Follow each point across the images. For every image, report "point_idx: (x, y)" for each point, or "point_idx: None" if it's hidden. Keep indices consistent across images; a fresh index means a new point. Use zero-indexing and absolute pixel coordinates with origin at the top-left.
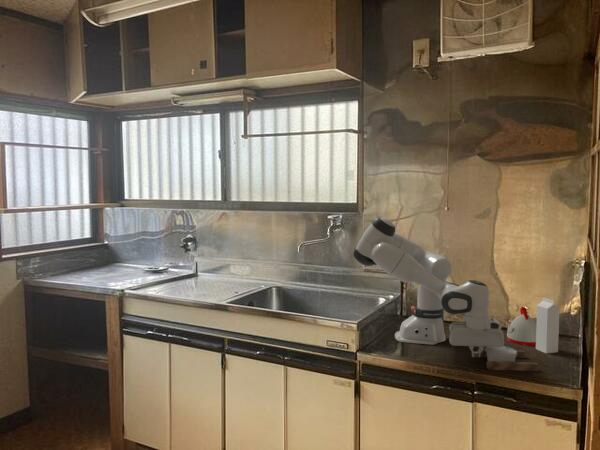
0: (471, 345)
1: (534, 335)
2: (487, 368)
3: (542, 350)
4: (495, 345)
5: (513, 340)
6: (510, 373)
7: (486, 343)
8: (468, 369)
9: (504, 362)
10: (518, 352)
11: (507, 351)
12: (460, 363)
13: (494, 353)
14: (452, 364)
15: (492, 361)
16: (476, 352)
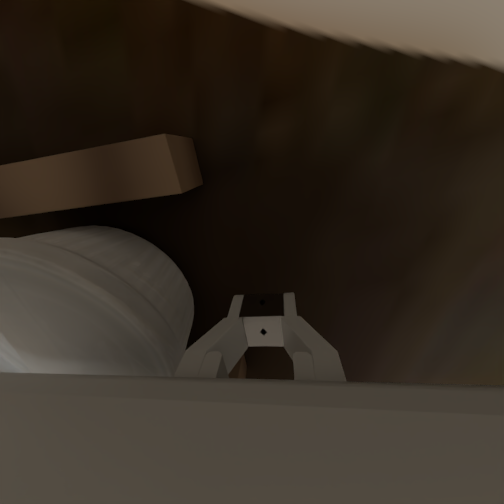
0: (340, 389)
1: None
2: (194, 152)
3: None
4: (14, 387)
5: None
6: (22, 85)
7: (95, 424)
8: (363, 95)
9: (35, 192)
10: None
11: (4, 335)
12: (386, 238)
13: (76, 274)
14: (471, 204)
15: (132, 197)
16: (260, 328)
